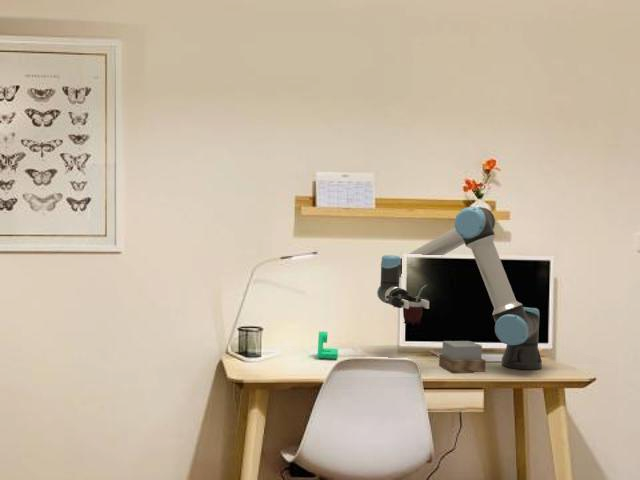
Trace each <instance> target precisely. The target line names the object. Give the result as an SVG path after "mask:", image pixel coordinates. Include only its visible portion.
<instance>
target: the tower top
mask: <svg viewBox="0 0 640 480" xmlns="http://www.w3.org/2000/svg"><path fill="white" fill-rule="evenodd" d="M482 349H483V346H482V345H481V344H477V343H475V342H473V341H470V340H454V341H453V340H443V341H442V352H441V354H443V355H445V356H447V357H449V358H451V359H453V360H481V359H482V355H483V353H482Z"/></svg>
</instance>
